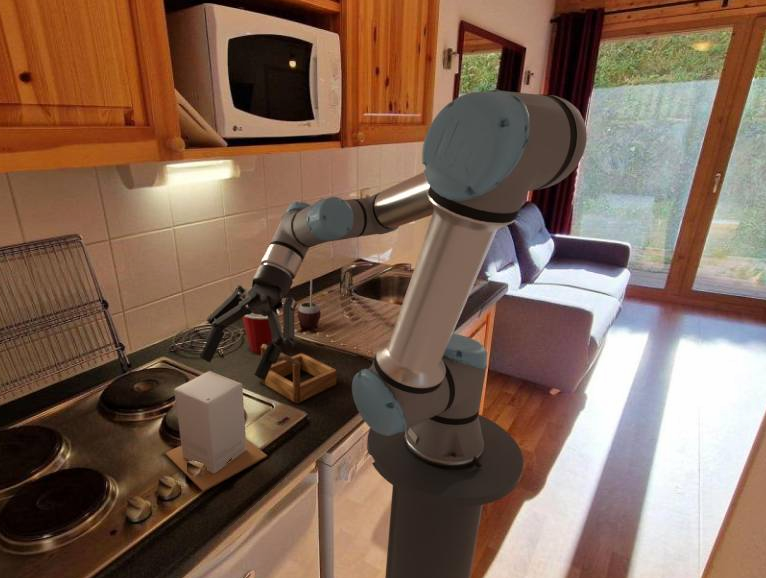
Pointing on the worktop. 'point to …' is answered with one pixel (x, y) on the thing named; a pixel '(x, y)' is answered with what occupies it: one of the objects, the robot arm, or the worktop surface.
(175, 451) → the mat
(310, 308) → the mate gourd
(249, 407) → the worktop surface
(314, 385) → the open wooden box
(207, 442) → the rectangular carton
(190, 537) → the worktop surface
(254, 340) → the plastic cup
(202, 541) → the worktop surface
